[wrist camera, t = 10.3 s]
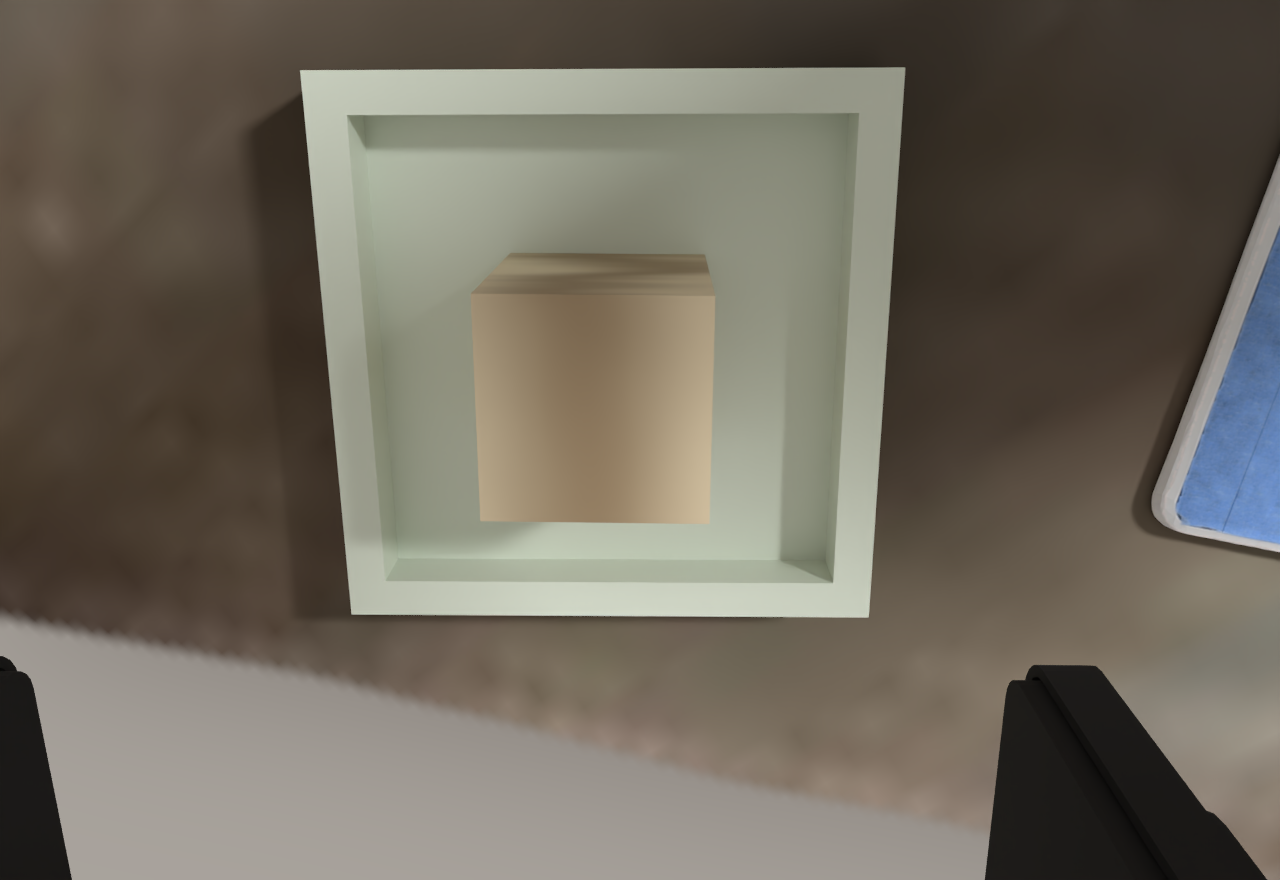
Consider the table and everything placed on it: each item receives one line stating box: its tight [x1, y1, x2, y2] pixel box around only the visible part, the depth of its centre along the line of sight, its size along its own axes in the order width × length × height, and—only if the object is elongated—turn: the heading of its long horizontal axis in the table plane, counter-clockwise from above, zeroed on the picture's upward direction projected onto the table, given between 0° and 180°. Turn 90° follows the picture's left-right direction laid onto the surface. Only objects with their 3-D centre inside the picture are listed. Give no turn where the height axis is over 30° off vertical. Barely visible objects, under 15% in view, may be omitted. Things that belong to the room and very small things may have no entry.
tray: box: [300, 67, 905, 617], centre depth 28 cm, size 14×14×2 cm
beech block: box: [471, 253, 715, 524], centre depth 26 cm, size 5×5×6 cm
